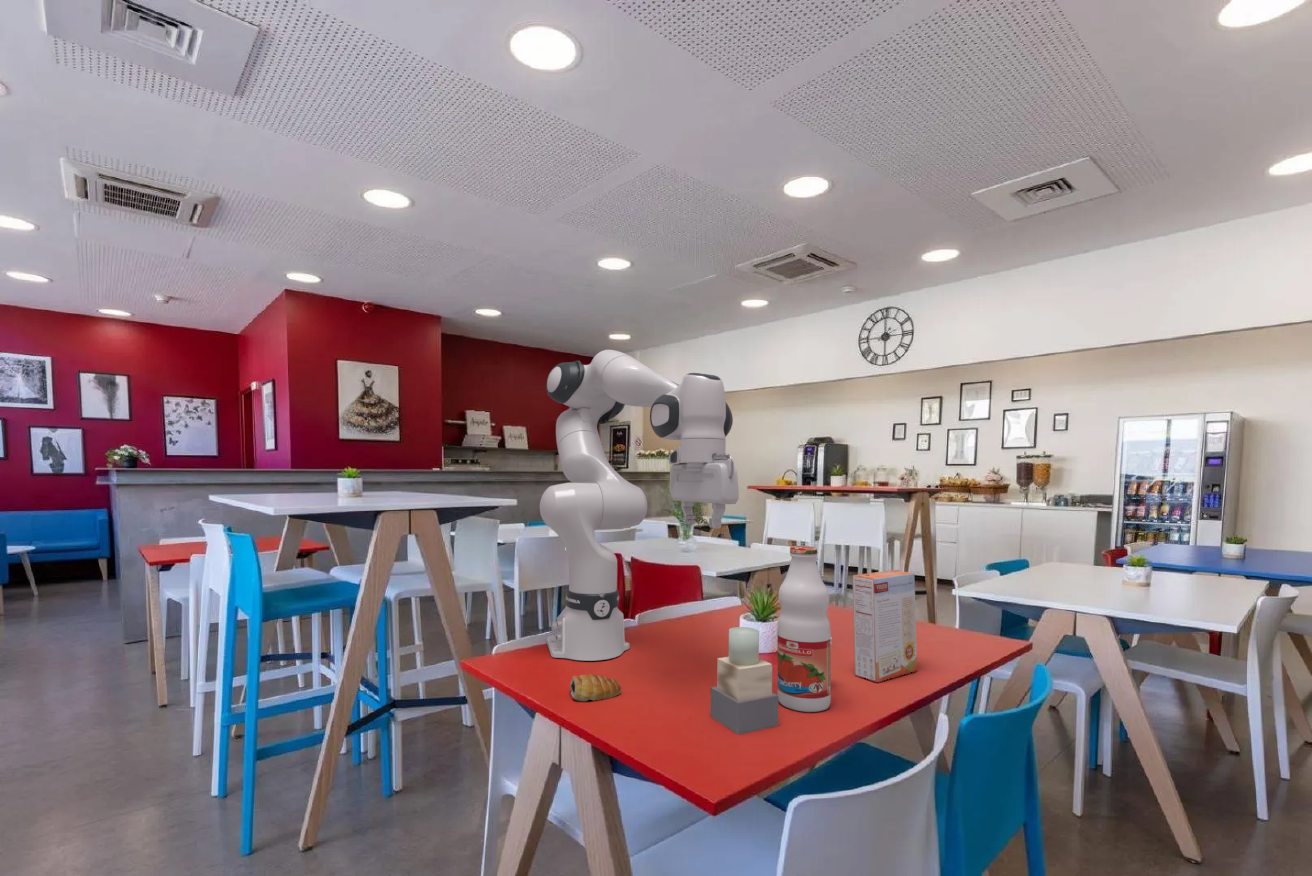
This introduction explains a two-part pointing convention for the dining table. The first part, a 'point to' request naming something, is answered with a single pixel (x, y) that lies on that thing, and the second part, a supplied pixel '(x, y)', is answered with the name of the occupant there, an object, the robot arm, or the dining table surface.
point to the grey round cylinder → (743, 646)
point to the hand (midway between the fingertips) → (702, 526)
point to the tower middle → (744, 679)
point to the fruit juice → (804, 635)
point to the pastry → (594, 687)
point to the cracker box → (884, 625)
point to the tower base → (744, 712)
